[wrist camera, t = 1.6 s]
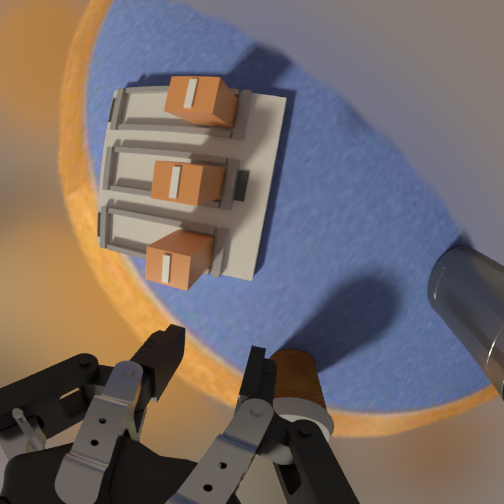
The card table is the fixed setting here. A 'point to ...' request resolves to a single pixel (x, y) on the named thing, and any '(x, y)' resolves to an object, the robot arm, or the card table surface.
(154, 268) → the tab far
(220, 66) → the card table surface
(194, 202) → the tab mid
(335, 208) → the card table surface
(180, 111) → the tab near
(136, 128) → the switch bank
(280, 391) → the disposable coffee cup
